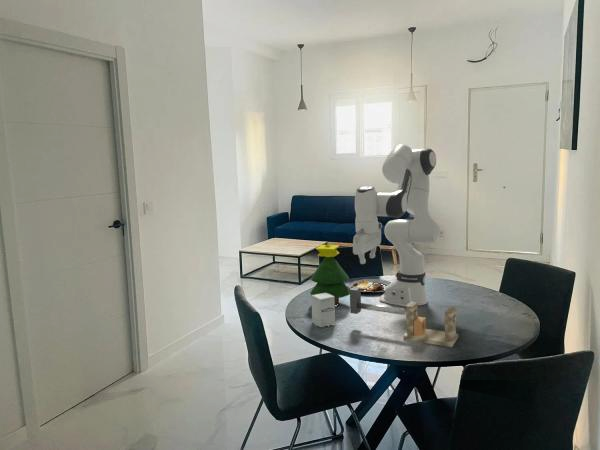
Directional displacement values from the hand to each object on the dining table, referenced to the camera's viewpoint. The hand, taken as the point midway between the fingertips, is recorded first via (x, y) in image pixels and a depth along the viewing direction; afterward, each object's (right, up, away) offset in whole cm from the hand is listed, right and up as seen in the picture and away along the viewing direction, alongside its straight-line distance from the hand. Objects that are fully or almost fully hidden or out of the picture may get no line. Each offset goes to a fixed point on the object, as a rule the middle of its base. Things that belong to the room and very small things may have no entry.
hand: (367, 260), depth 190 cm
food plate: (+10, -19, +55) cm, 59 cm away
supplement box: (-18, -28, +7) cm, 33 cm away
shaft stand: (+22, -29, -12) cm, 38 cm away
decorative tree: (-13, -24, +32) cm, 42 cm away
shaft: (+4, -22, -2) cm, 22 cm away
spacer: (+18, -27, -10) cm, 34 cm away
